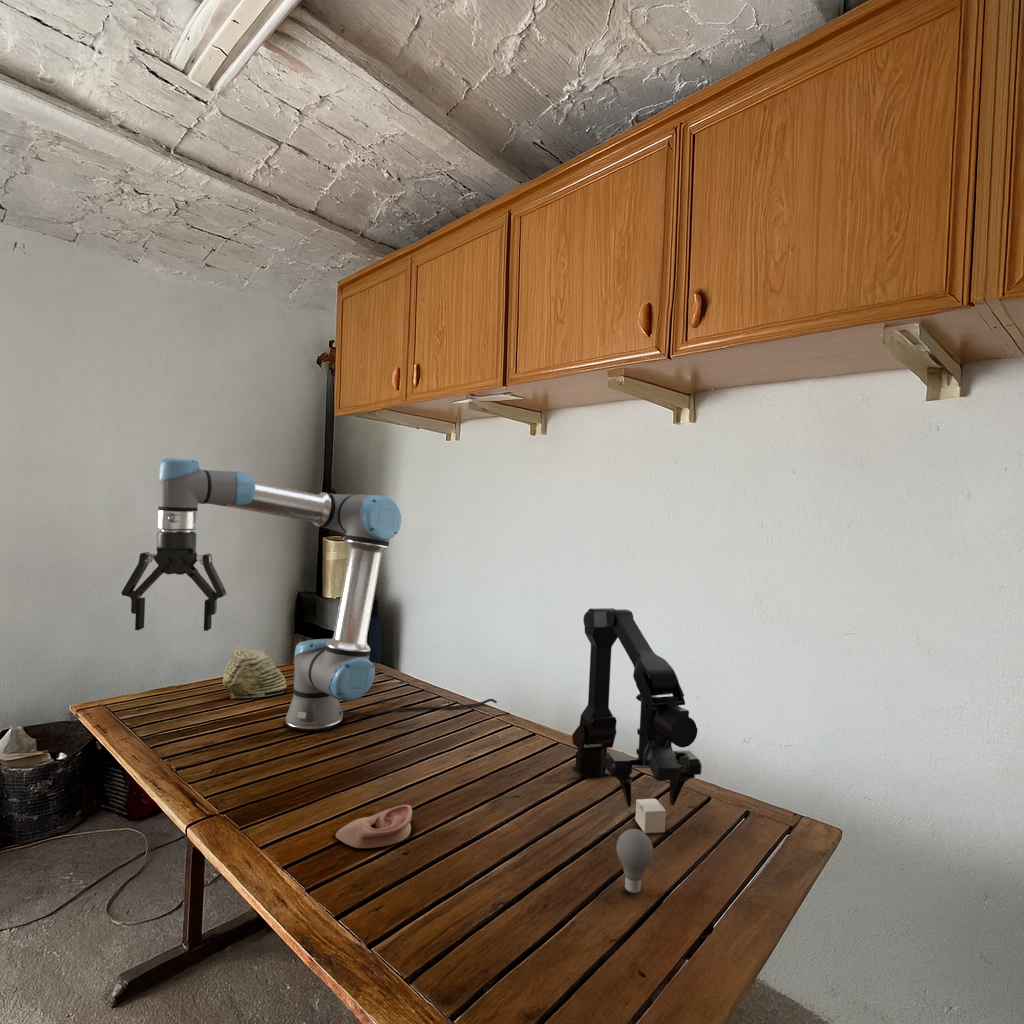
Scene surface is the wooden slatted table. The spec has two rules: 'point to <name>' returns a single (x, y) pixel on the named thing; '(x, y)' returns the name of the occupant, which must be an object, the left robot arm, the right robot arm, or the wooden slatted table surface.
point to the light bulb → (634, 857)
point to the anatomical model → (378, 828)
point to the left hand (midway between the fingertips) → (173, 629)
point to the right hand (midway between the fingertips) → (650, 805)
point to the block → (650, 815)
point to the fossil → (252, 674)
